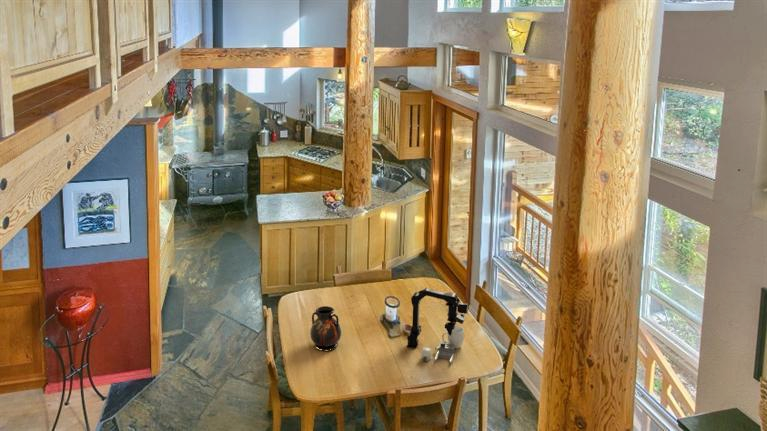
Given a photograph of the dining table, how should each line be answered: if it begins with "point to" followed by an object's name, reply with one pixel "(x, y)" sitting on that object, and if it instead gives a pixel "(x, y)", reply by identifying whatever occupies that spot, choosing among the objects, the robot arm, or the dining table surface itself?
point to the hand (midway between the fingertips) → (451, 332)
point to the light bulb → (426, 354)
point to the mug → (455, 336)
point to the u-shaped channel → (445, 351)
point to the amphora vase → (325, 329)
